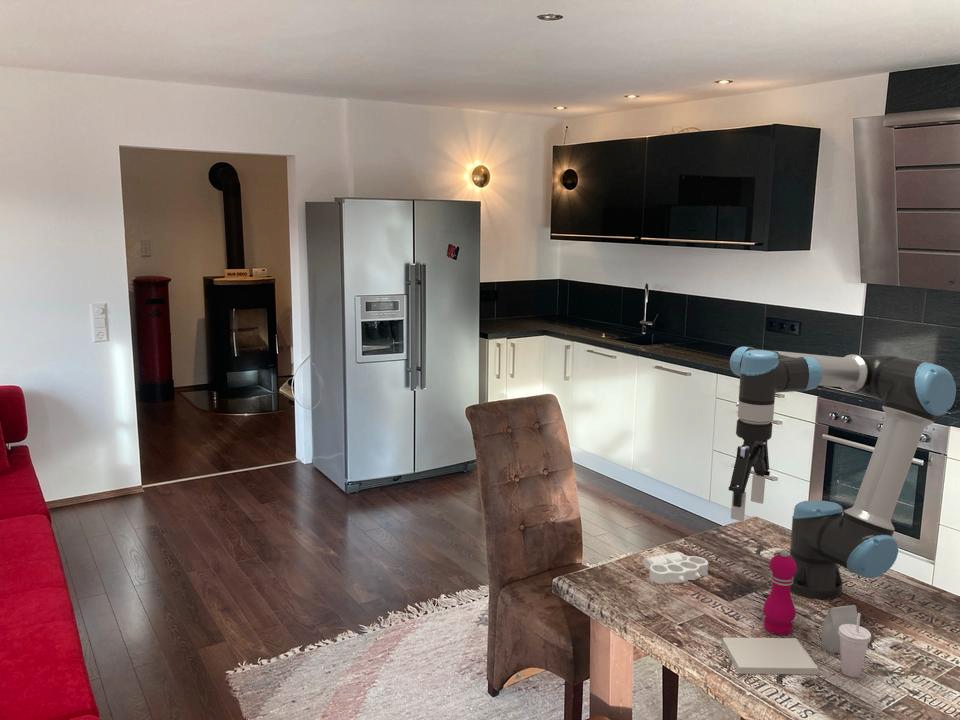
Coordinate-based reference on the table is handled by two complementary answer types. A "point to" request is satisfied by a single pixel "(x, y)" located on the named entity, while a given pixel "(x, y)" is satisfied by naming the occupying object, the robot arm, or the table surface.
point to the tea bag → (836, 626)
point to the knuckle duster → (675, 568)
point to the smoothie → (853, 647)
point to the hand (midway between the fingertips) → (747, 510)
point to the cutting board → (769, 656)
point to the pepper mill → (780, 595)
